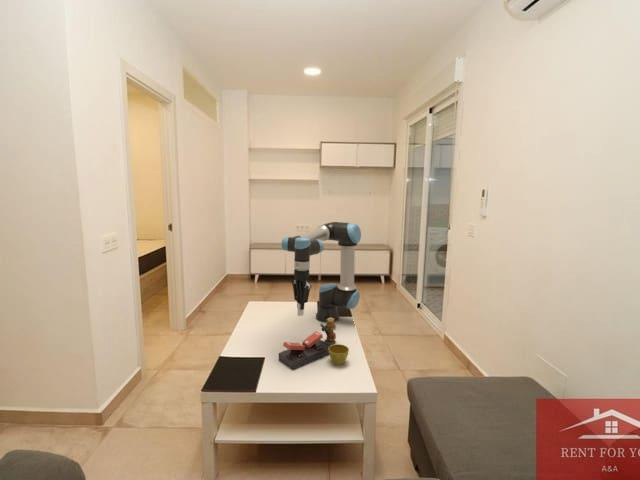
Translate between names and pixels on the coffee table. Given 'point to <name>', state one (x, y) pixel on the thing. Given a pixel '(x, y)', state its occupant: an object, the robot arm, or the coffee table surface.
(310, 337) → the rocker
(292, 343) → the plate
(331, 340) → the figurine
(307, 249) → the robot arm
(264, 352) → the coffee table surface
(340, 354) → the flower pot
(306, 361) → the power strip
